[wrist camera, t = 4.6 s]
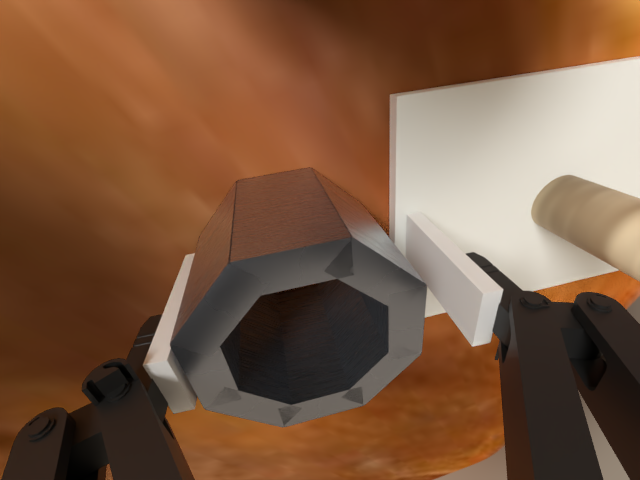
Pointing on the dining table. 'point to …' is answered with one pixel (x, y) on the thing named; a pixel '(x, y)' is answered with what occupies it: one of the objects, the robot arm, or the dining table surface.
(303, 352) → the ring
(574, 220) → the post
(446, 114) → the base board
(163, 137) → the dining table surface
